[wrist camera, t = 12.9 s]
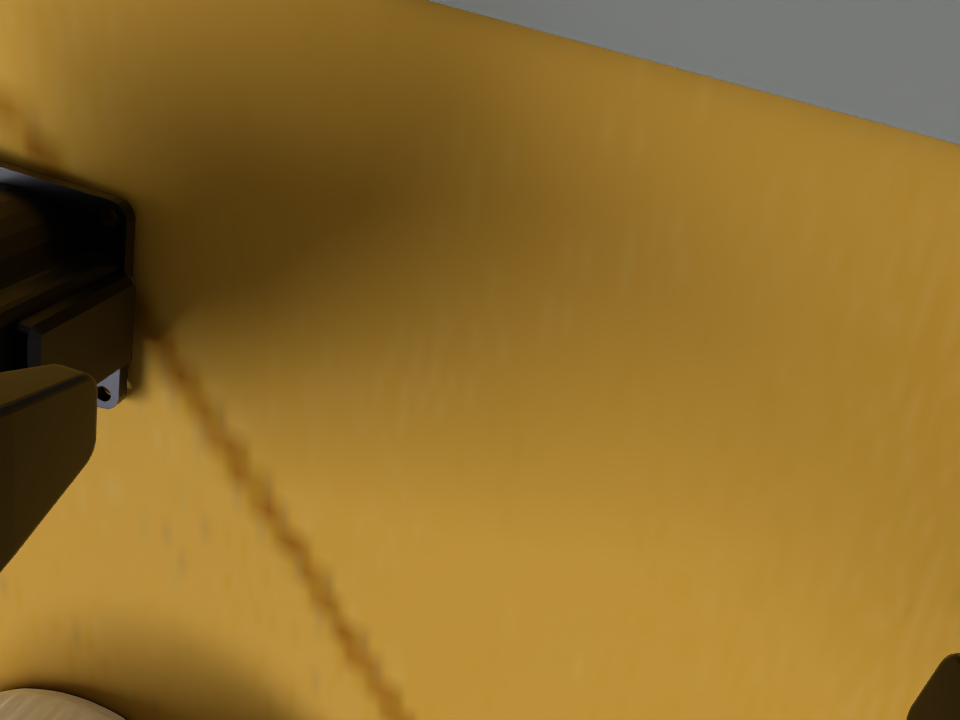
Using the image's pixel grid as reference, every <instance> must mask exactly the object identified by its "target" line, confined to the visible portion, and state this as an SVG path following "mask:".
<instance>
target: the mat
mask: <svg viewBox="0 0 960 720" xmlns="http://www.w3.org/2000/svg"><path fill="white" fill-rule="evenodd" d="M428 1H432V2H436V3H439V4H443V5H447V6H450V7H454V8H458V9H461V10H465V11H469V12H472V13H476V14H480V15H483V16H487V17H491V18H494V19H498V20H502V21H505V22H509V23H513V24H516V25H520V26H524V27H527V28H531V29H535V30H539V31H542V32H546V33H550V34H553V35H557V36H561V37H564V38H568V39H572V40H575V41H579V42H583V43H586V44H590V45H594V46H597V47H601V48H605V49H608V50H612V51H616V52H619V53H623V54H627V55H630V56H634V57H638V58H642V59H645V60H649V61H653V62H656V63H660V64H664V65H667V66H671V67H675V68H678V69H682V70H686V71H689V72H693V73H697V74H700V75H704V76H708V77H711V78H715V79H719V80H722V81H726V82H730V83H733V84H737V85H741V86H744V87H748V88H752V89H756V90H759V91H763V92H767V93H770V94H774V95H778V96H781V97H785V98H789V99H792V100H796V101H800V102H803V103H807V104H811V105H814V106H818V107H822V108H825V109H829V110H833V111H836V112H840V113H844V114H847V115H851V116H855V117H859V118H862V119H866V120H870V121H873V122H877V123H881V124H884V125H888V126H892V127H895V128H899V129H903V130H906V131H910V132H914V133H917V134H921V135H925V136H928V137H932V138H936V139H939V140H943V141H947V142H950V143H954V144H958V145H960V0H428Z"/></svg>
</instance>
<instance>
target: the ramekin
mask: <svg viewBox="0 0 960 720" xmlns="http://www.w3.org/2000/svg"><path fill="white" fill-rule="evenodd" d="M0 720H126V719H124V718H123V717H121V716H119V715H118V714H116V713H114V712H112V711H110V710H108V709H106V708H104V707H102V706H100V705H98V704H95V703H93V702H91V701H88V700H86V699H83V698H80V697H77V696H73V695H70V694H66V693H62V692H57V691H51V690H42V689H30V688H24V689H13V690H8V691H3V692H0Z"/></svg>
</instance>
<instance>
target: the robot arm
mask: <svg viewBox="0 0 960 720" xmlns="http://www.w3.org/2000/svg"><path fill="white" fill-rule="evenodd" d="M110 209H111V210H113V211H114V212H115V213H116V215H117V217H118V223H116V222H114V221H113V220H112V218H111V217H110V212H109V211H110ZM134 233H135V215H134V211H133V209H132V207H131V205H130V204H129V203H128V202H127V201H126V200H124V199H122V198H120V197H118V196H115V195H111V194H108V193H105V192H101V191H98V190H95V189H91V188H88V187H85V186H82V185H78V184H75V183H72V182H68V181H65V180H62V179H58V178H55V177H52V176H48V175H45V174H42V173H38V172H35V171H32V170H28V169H25V168H22V167H18V166H15V165H12V164H8V163H5V162H2V161H0V572H1V571H2V570H3V568H4V567H5V566H6V565H7V564H8V563H9V561H10V560H11V559H12V558H13V557H14V555H15V554H16V553H17V552H18V550H19V549H20V548H21V547H22V545H23V544H24V543H25V541H26V540H27V539H28V538H29V536H30V535H31V534H32V533H33V531H34V530H35V529H36V527H37V526H38V525H39V524H40V522H41V521H42V520H43V519H44V517H45V516H46V515H47V513H48V512H49V511H50V510H51V508H52V507H53V506H54V505H55V503H56V502H57V501H58V499H59V498H60V497H61V496H62V494H63V493H64V492H65V491H66V489H67V488H68V487H69V485H70V484H71V483H72V482H73V480H74V479H75V478H76V477H77V475H78V474H79V473H80V471H81V470H82V469H83V468H84V466H85V465H86V464H87V462H88V461H89V459H90V457H91V455H92V453H93V450H94V447H95V442H96V423H97V407H100V408H105V409H110V408H113V407H115V406H116V405H117V404H119V403H120V402H121V401H122V400H123V399H124V398H125V396H126V389H127V369H128V363H129V362H130V361H131V359H132V345H133V326H134V307H135V289H136V286H135V283H134V281H133V278H132V272H133V252H134ZM103 387H105V388H107V389H108V390H109V392H110V395H109V394H107V393H106V392H105V390H104V388H103ZM907 720H960V653H955V654H950V655H948V656H947V657H946V658H944V659H943V661H942V662H941V663H940V664H939V666H938V667H937V669H936V670H935V672H934V673H933V675H932V676H931V678H930V679H929V681H928V682H927V684H926V685H925V687H924V688H923V690H922V691H921V693H920V694H919V696H918V697H917V699H916V700H915V702H914V703H913V705H912V706H911V708H910V710H909V713H908V715H907Z"/></svg>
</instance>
